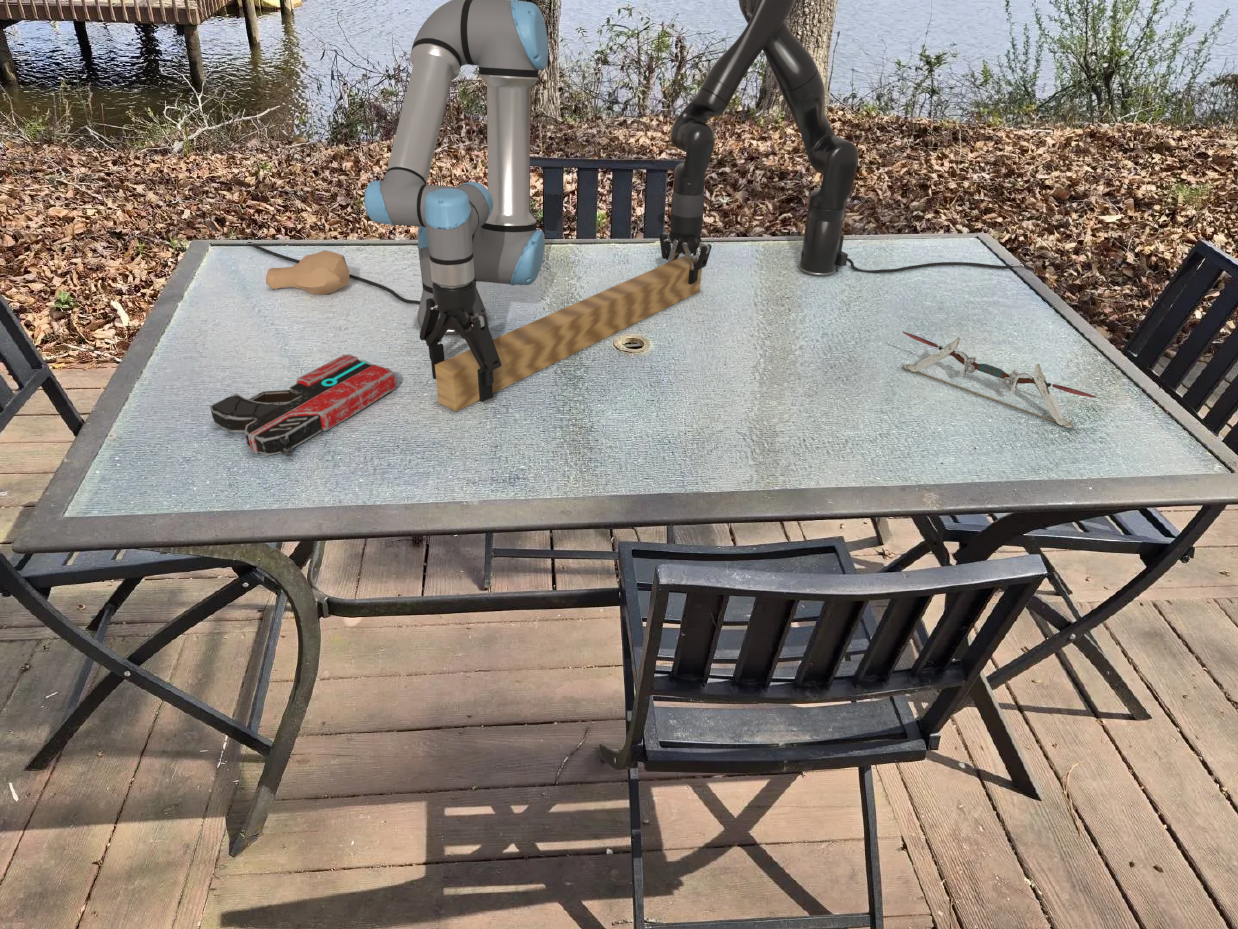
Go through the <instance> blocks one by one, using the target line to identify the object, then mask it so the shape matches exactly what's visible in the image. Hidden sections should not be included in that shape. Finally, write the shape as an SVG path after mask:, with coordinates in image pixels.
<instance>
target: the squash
mask: <svg viewBox="0 0 1238 929" xmlns="http://www.w3.org/2000/svg"><path fill="white" fill-rule="evenodd" d="M299 260H300V262H299V263H296V264H293V265H292V266H286V267H285V266H284V267H271V268H268V270H267V272H266V275H265V284H266V285H267V286H268V287H269V288H270V289H271V290H276V289H282V288H283V289H284V288H296V289H300V290H303V291H305V292H307V293H309V294H312V295H315V296H319V295H320V296H321V295H330V294H332V293H334V292H336V291H338V290H340V289H342V288H344V287H346V286H348V285H349V284H350V277H349V274H350V269H349V267H348V263H347V261H346V258H345V255H343V254H340V253H337V252H334V251H330V250H322V251H319V252H316V253H312V254H307V255H305V256H304V257H302V258H301V259H299Z"/></svg>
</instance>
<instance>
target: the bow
mask: <svg viewBox="0 0 1238 929" xmlns="http://www.w3.org/2000/svg"><path fill="white" fill-rule="evenodd" d="M901 333H903V334H904V335H906V336H908V337H910V338H911V339H913V340H915V341H918V342H920V343H922V344H925V345H927V346H930V347H933V348H936V349H938V350H939V351H938V353H934V354H931V355H929V356H927V357H925V358H924V359H922V360H921V361H919V362H918V363H917V364H910V363H907V364H905V365H903V368H904V370H907V371H909V372H913V373H918V374H920V375H924V376H926V377H930V378H931V379H935V380H937V381H940V382H943V383H946V384H948V385H951V386H954V387H957V388H960V389H963V390H965V391H968V392H971V393H973V394H976V395H980V396H982V397H985V398H986V399H987V398H988V399H990V400H993V401H996V402H999V403H1002V404H1004V405H1007V406H1009V407H1012V408H1015V409H1018V410H1020V411H1023V412H1026V413H1029V414H1032V415H1034V416H1037V417H1040V418H1043V419H1046V420H1049V421H1051V422H1054V423H1056V424H1058V425H1060V426H1061V427H1063V428H1067V429H1071V428H1073V427H1074V425H1075V424H1074V423H1072V421H1070V420H1068V419H1067V418H1065V417H1064V416H1063V413H1062V410H1061V407H1060V406H1059V404H1058V401H1057V399H1056V398H1055V397H1054V395H1053V394H1052V393H1051V391H1050V389H1049V388H1050V387H1051V386H1052V388H1054V389H1057V390H1059V391H1063V392H1066V393H1068V394H1073V395H1077V396H1081V397H1087V398H1094V399H1096V398H1097V396H1096V395H1092V394H1090V393H1087V392H1084V391H1082V390H1079V389H1075V388H1073V387H1072V388H1071V387H1068V386H1065V385H1060V384H1055V383H1050V382H1048V381H1047V378H1046V376H1045V374H1044V373H1043V371H1042V368H1041V364H1040V363H1037V364H1036V365H1035V366H1034V369H1033V373H1032V375H1031V374H1029V373H1026V372H1022V373H1019V372H1017V370H1015V369H1014V370H1012V371H1011V372H1010V373H1007V372H1006V371H1005V370H1003V369H1002V368H999V367H996V366H994V365H991V364H988V363H977V362H976V361H977V357H976V356H974V357H973V356H970V357H969V356H968V354H967V353H965V352H964V351H961V350H956V349H957V348H958V347H959V344H960V340H961V337H957V338H956V339H954V340H953V341H952V342H951V343H947V344H946V345H945V346H944V347H943V346H941V345H938V344H937V343H935V342H932V341H930V340H928V339H925V338H923V337H921V336H917V335H914V334H912V333H909V332H905V331H903V330H902V332H901ZM951 356H952V357H953V358H954V359H955V360H956V361H957V362H959V363H960V364H962V365H963V366H962V369H961V370H960V373H959V374H958V376H960V377H964V376H966V373H968V374H973V373H975V371H979V372H981V373H984V374H987V375H990V376H993V377H995V378H998V379H1002V383H1003V385H1004V386H1006V387H1011V388H1010V394H1011V395H1015V394H1017V393H1018V384H1033V385H1034V386H1035V388H1036V389H1037V391H1038V392H1039V394H1040V396H1041V397H1042V399H1043V402H1044V404H1045V406H1046V408H1047V409H1048V412H1049V414H1050V415H1051V417H1052V418H1053V419H1051V418H1048V417H1046V416H1043V415H1040V414H1038V413H1034V412H1032V411H1029V410H1026V409H1023V408H1021V407H1018V406H1015V405H1012V404H1009V403H1007V402H1004V401H1001V400H998V399H995V398H993V397H991V396H988V395H984V394H982V393H979V392H976V391H973V390H971V389H968V388H965V387H963V386H960V385H956V384H954V383H951V382H949V381H946V380H943V379H941V378H938V377H935V376H932V375H929V374H927V373H924V372H921V371H922V370H924V369H925V370H926V369H928V368H929V367H931V366H933V365H934V364H936V363H938V362H940V361H942V360H944V359H947V358H949V357H951Z"/></svg>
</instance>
